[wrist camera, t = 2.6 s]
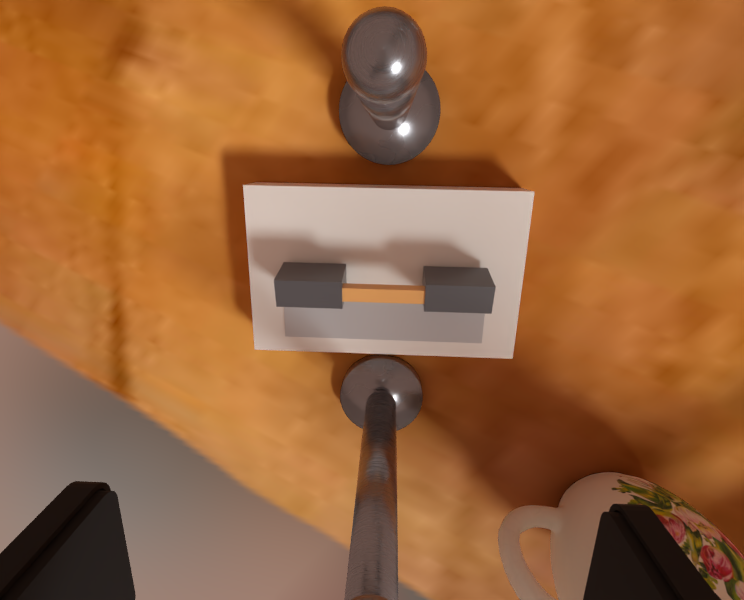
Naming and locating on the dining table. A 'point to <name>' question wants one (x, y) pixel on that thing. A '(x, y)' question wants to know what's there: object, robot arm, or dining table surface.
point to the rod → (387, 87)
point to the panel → (387, 263)
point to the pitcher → (579, 530)
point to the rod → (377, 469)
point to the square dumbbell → (385, 288)
